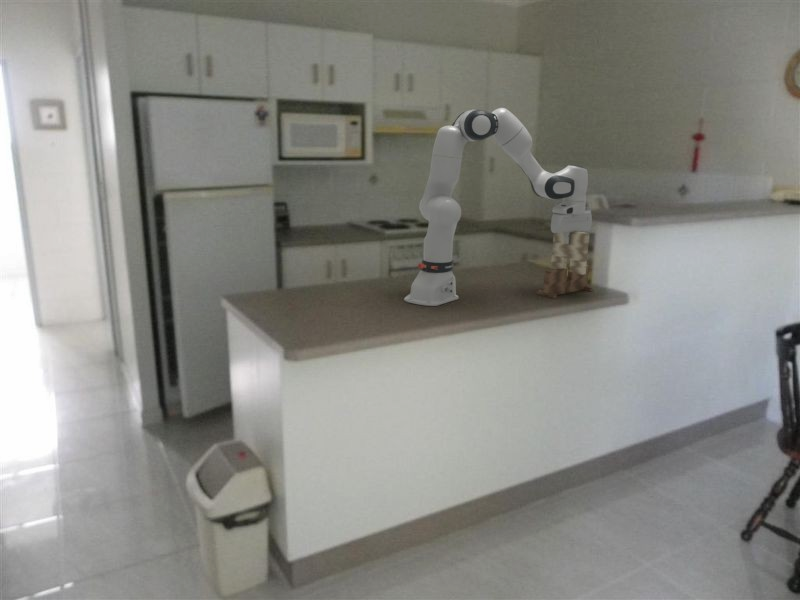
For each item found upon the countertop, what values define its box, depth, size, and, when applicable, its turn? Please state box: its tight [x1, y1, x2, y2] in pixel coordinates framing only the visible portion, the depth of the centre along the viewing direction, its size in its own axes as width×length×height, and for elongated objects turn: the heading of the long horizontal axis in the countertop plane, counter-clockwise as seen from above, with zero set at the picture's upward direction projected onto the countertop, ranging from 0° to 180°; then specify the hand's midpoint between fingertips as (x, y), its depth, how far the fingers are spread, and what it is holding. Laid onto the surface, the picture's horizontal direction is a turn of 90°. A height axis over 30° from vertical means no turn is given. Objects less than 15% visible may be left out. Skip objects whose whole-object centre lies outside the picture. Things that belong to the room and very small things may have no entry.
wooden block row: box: [536, 264, 594, 300], centre depth 240 cm, size 24×8×10 cm, turn 124°
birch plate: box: [550, 231, 590, 275], centre depth 236 cm, size 16×2×16 cm, turn 34°
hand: (570, 243), depth 236 cm, fingers closed on birch plate, 2 cm apart
